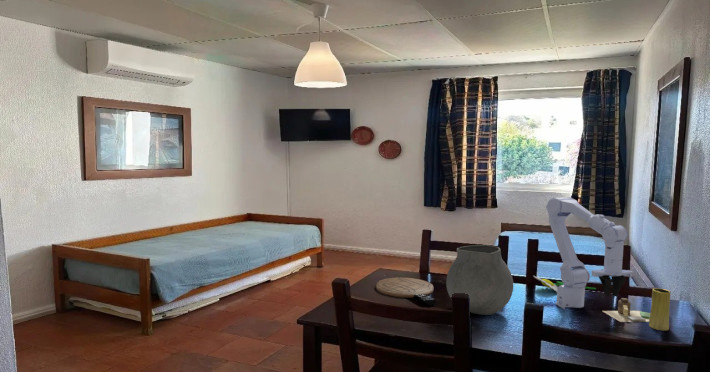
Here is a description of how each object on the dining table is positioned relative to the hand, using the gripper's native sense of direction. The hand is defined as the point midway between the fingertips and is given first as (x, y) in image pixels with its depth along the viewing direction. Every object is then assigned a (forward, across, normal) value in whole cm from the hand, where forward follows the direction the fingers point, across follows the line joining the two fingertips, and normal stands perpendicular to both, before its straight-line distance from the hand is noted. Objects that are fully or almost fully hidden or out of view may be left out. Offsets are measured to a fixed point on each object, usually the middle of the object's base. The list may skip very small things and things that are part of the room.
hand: (611, 295), depth 170 cm
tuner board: (+9, +9, +2) cm, 13 cm away
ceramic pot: (+10, -46, +10) cm, 48 cm away
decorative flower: (+10, +3, +37) cm, 38 cm away
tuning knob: (+8, +7, +2) cm, 11 cm away
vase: (+10, +12, -9) cm, 18 cm away
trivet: (+10, -68, +40) cm, 80 cm away
